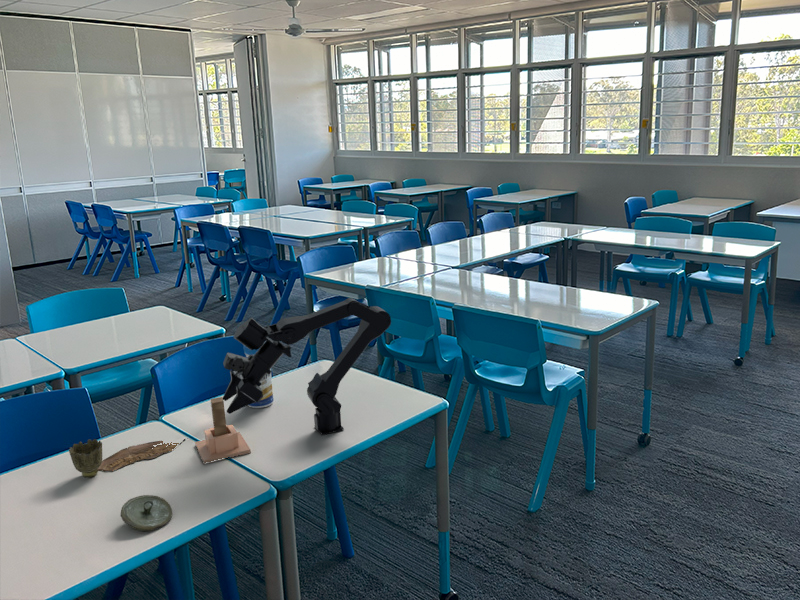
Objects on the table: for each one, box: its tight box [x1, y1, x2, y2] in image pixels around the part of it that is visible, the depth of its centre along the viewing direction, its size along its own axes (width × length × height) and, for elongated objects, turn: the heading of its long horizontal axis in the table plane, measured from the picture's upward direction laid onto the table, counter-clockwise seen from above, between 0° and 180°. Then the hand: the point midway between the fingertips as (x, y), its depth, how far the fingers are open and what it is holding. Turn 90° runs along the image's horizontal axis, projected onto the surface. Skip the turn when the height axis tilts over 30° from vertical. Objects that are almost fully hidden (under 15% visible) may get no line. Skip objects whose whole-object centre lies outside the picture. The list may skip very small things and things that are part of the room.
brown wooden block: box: [210, 396, 227, 437], centre depth 173 cm, size 3×3×13 cm
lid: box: [120, 494, 173, 532], centre depth 142 cm, size 11×10×5 cm
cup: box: [68, 438, 103, 479], centre depth 162 cm, size 8×7×8 cm
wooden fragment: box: [98, 440, 179, 473], centre depth 174 cm, size 26×11×1 cm, turn 128°
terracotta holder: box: [194, 424, 251, 464], centre depth 174 cm, size 12×12×5 cm
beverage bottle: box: [242, 344, 274, 409], centre depth 201 cm, size 8×8×20 cm
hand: (225, 406), depth 172 cm, fingers open, 9 cm apart
